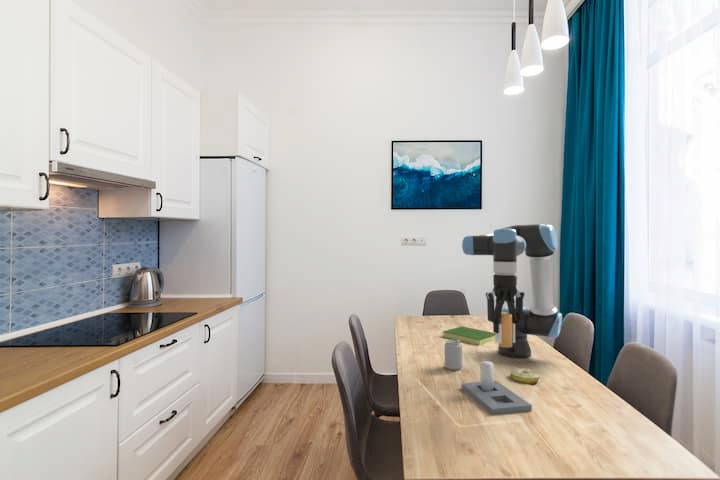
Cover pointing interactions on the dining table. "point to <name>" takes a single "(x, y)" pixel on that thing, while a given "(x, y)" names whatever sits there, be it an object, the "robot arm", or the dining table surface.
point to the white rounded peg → (486, 376)
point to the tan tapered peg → (506, 330)
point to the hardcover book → (470, 335)
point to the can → (453, 355)
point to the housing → (497, 398)
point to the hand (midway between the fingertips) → (505, 341)
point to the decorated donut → (524, 375)
